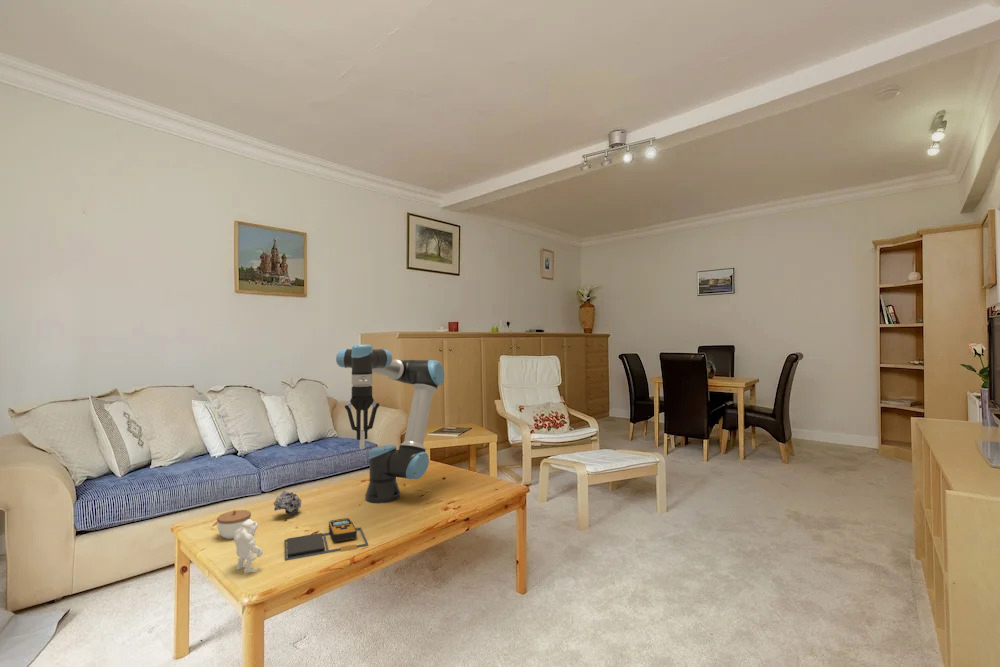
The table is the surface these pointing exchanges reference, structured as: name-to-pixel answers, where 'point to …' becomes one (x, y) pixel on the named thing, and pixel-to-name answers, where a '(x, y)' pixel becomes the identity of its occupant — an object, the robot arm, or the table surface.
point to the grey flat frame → (313, 545)
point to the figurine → (246, 545)
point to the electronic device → (342, 529)
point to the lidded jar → (231, 522)
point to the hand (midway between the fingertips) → (362, 448)
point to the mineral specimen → (288, 502)
